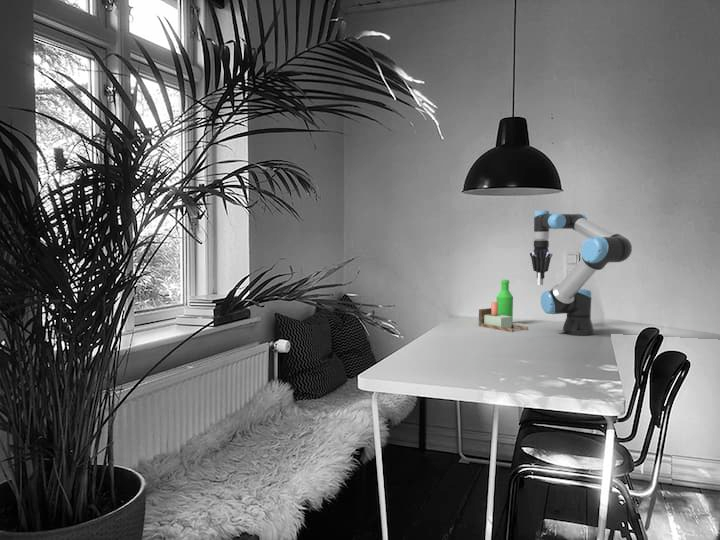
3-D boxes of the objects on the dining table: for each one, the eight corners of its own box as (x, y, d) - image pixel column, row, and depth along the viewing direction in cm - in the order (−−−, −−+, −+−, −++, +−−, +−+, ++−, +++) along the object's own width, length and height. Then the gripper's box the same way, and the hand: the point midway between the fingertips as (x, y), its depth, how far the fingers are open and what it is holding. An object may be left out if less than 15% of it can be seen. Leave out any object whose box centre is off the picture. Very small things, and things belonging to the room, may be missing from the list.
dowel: (498, 325, 339) (499, 302, 338) (494, 325, 337) (494, 303, 336) (494, 324, 342) (494, 302, 341) (489, 324, 340) (490, 302, 339)
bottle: (514, 324, 355) (515, 279, 353) (509, 326, 347) (510, 280, 346) (499, 323, 359) (500, 278, 358) (493, 325, 352) (494, 280, 350)
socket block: (511, 327, 335) (511, 316, 334) (501, 329, 330) (501, 317, 330) (494, 324, 345) (494, 313, 344) (484, 326, 340) (484, 315, 340)
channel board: (527, 332, 329) (527, 312, 328) (511, 334, 322) (512, 314, 321) (494, 326, 347) (494, 307, 347) (478, 328, 341) (478, 309, 340)
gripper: (556, 240, 330) (555, 285, 332) (535, 239, 341) (534, 283, 342) (547, 240, 326) (546, 286, 327) (526, 239, 336) (525, 284, 338)
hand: (540, 284), depth 335 cm, fingers closed
